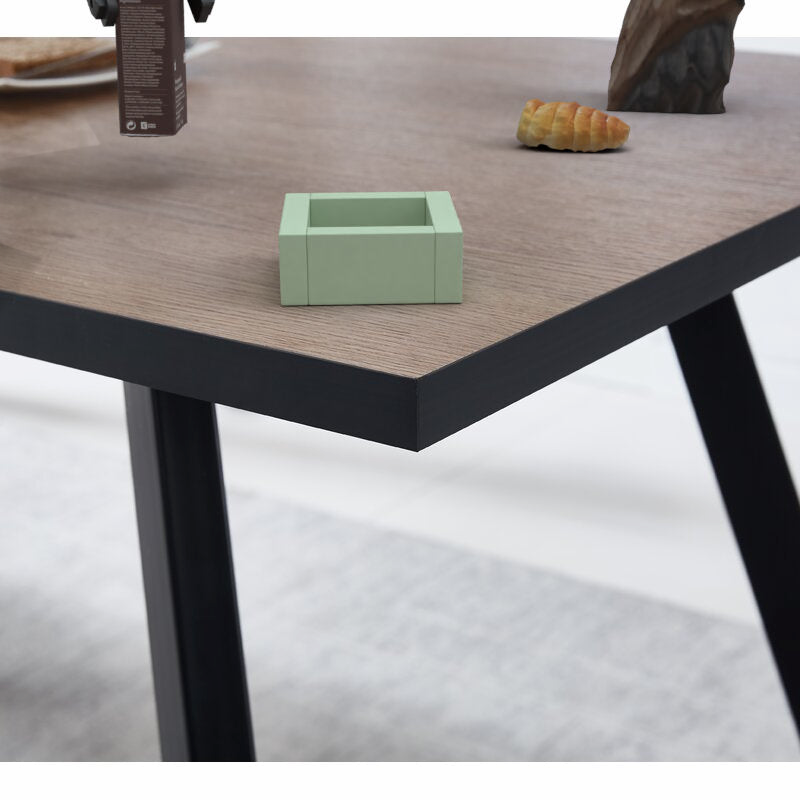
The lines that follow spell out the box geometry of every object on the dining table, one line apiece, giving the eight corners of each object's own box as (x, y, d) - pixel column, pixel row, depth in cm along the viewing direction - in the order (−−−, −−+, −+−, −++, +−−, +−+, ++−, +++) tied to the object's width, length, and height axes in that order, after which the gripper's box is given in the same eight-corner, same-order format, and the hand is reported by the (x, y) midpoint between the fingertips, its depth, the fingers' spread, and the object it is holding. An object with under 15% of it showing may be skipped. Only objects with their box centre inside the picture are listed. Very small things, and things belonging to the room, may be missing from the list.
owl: (638, 92, 141) (651, -106, 134) (755, 100, 136) (775, -105, 129) (600, 110, 131) (611, -104, 124) (725, 119, 126) (745, -104, 118)
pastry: (635, 143, 114) (638, 99, 113) (618, 158, 109) (620, 111, 107) (532, 136, 118) (534, 93, 116) (510, 150, 112) (511, 105, 111)
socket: (280, 306, 71) (278, 234, 70) (287, 257, 80) (285, 193, 79) (462, 303, 71) (463, 231, 70) (448, 254, 81) (448, 191, 79)
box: (180, 137, 95) (170, -36, 91) (118, 137, 95) (105, -36, 91) (193, 123, 101) (184, -41, 96) (135, 123, 101) (123, -41, 96)
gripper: (4, -203, 92) (67, -16, 87) (196, -196, 99) (265, -22, 94) (-6, -122, 98) (52, 56, 93) (174, -121, 105) (238, 46, 100)
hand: (158, 16), depth 94 cm, fingers closed on box, 6 cm apart
